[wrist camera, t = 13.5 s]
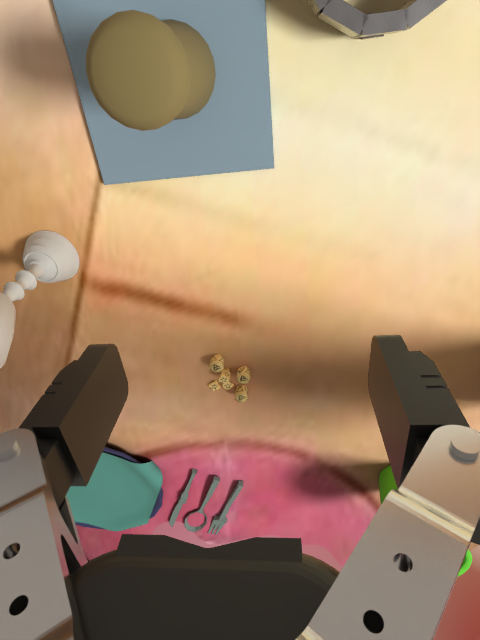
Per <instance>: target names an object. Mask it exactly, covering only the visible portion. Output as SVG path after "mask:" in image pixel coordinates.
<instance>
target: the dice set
mask: <svg viewBox="0 0 480 640" xmlns="http://www.w3.org/2000/svg"><path fill="white" fill-rule="evenodd" d="M223 367H224V357H223V356H221V355H220V354H216V355H213V356H212V357H211V360H210V370H212V371H213V372H220V374H219V378H218V381H219V382H221V383H222V386H223V387H224V388H225V389H227V390H229V389H230V388H232V387H233V386H234V384H233V383H232V382H231V381H230V380H229V379H230V374H231V373H230V372H229V369H224V368H223ZM249 381H250V368H248V367H246V366H240V367H239V368H238V369H237V382H239V383H241V384H247V383H248V382H249ZM209 387H210V388H211V389H212V390H213V391H215V390H217V389H219V388H220V387H221V386H220V384H219V383H218V382H217V381H216V380H215V381H213V382H211V383H209ZM247 394H248V388H247V387H246V386H245V385H238V386H237V387H236V389H235V400H236V401H238V402H245V401H246V400H247Z"/></svg>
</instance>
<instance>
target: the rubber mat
mask: <svg viewBox="0 0 480 640" xmlns="http://www.w3.org/2000/svg"><path fill="white" fill-rule="evenodd" d="M53 4H54V8H55V11H56V15H57V18H58V22H59V25H60V29H61V32H62V36H63V40H64V43H65V47H66V50H67V54H68V57H69V61H70V64H71V68H72V71H73V75H74V79H75V82H76V86H77V89H78V93H79V96H80V100H81V103H82V107H83V111H84V114H85V118H86V121H87V125H88V128H89V132H90V135H91V139H92V143H93V146H94V150H95V153H96V157H97V160H98V164H99V167H100V171H101V174H102V178H103V182H104V185H108V184H119V183H129V182H139V181H149V180H159V179H169V178H179V177H189V176H200V175H210V174H220V173H230V172H240V171H250V170H260V169H270V168H274V156H273V137H272V119H271V101H270V82H269V64H268V46H267V27H266V9H265V0H53ZM128 10H137V11H140V12H144V13H148V14H151V15H153V16H155V17H156V18H157V19H159V20H160V21H162V20H169V19H173V20H177V21H181V22H184V23H187V24H188V25H190V26H191V27H192V28H194V29H195V30H197V31H198V32H199V33H200V34H201V36H202V37H203V38H204V40H205V41H206V42H207V44H208V46H209V48H210V51H211V53H212V56H213V58H214V64H215V73H216V77H215V83H214V90H213V92H212V94H211V97H210V99H209V101H208V103H207V104H206V105H205V106H204V107H203V108H202V109H201V110H200V112H199V113H197V114H195V115H193V116H191V117H189V118H186V119H177V120H173V121H172V122H170V123H168V124H166V125H164V126H162V127H160V128H158V129H155V130H146V131H141V130H137V129H132V128H128V127H126V126H124V125H122V124H121V123H119V122H117V121H116V120H114V119H112V118H111V117H110V116H109V115H108V114H107V113H106V112H105V111H104V110H103V108H102V107H101V106H100V105H99V104H98V102H97V100H96V98H95V96H94V94H93V93H92V91H91V89H90V85H89V81H88V77H87V74H86V51H87V48H88V45H89V41H90V38H91V35H92V34H93V33H94V31H95V30H96V29H97V27H98V26H99V24H100V23H101V22H102V21H103V20H105V19H107V18H108V17H110V16H111V15H113V14H115V13H116V12H121V11H128Z"/></svg>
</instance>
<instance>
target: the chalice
mask: <svg viewBox="0 0 480 640" xmlns="http://www.w3.org/2000/svg"><path fill="white" fill-rule="evenodd" d="M23 264H24V267H25V269H26V271H25V270H21V271H18V272H17V273H16V276H15V277H16V281H15V282H7V283H6V284H5V285H4V291H3V293H1V292H0V369H1V367H2V366H3V365H4V364H5V362H6V359H7V356H8V352H9V349H10V346H11V343H12V339H13V336H14V327H15V317H16V310H15V306H14V304H13V301H15V300H21V299H22V298H23V297H24V290H25V289H26V290H32V289H34V288H35V287H36V285H37V281H36V279H37V280H39V281H41V282H45V283H54V282H59V281H65V280H68V279H70V278H72V277H73V276H74V275H75V274H76V273H77V271H78V268H79V257H78V253H77V251H76V249H75V248H74V246H73V245H72V243H71V242H69V241H68V240H67V239H66V238H65V237H64V236H62V235H60V234H58V233H56V232H52V231H48V230H46V231H38V232H35V233H33V234H31V235H30V237H29V238H28V239H27V241H26V244H25V249H24V254H23Z"/></svg>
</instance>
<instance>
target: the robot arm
mask: <svg viewBox="0 0 480 640" xmlns="http://www.w3.org/2000/svg"><path fill="white" fill-rule="evenodd" d="M368 386H369V394H370V398H371V401H372V405H373V408H374V411H375V415H376V418H377V421H378V425H379V428H380V432H381V435H382V438H383V442H384V445H385V448H386V452H387V455H388V458H389V462H390V465H391V468H392V472H393V475H394V479H395V482H396V485H397V489H398V490H396V489H392V490H391V491H390V492H389V494H388V495H387V497H386V498H385V500H384V501H383V503H382V505H381V506H380V508H379V510H378V511H377V513H376V514H375V516H374V518H373V519H372V521H371V523H370V524H369V526H368V528H367V529H366V531H365V532H364V534H363V536H362V537H361V539H360V541H359V542H358V544H357V546H356V547H355V549H354V551H353V552H352V554H351V555H350V557H349V559H348V560H347V562H346V564H345V565H344V567H343V569H342V570H341V572H339V571H337V570H336V569H335V568H333V567H332V566H330V565H328V564H327V563H325V562H323V561H321V560H319V559H317V558H314V557H312V556H309V555H306V554H303V553H302V547H301V546H302V545H301V538H261V537H255V538H251V539H247V540H242V541H238V542H234V543H230V544H226V545H222V546H218V547H214V548H203V547H200V546H197V545H194V544H190V543H187V542H184V541H181V540H178V539H175V538H172V537H168V536H165V535H133V534H122V536H121V539H120V542H119V545H118V548H117V550H114V551H111V552H108V553H105V554H103V555H101V556H99V557H96V558H94V559H92V560H91V561H89V562H87V560H86V557H85V555H84V552H83V548H82V545H81V541H80V538H79V535H78V531H77V528H76V524H75V521H74V518H73V514H72V511H71V507H70V504H69V501H68V499H67V497H66V494H67V492H68V490H69V488H70V486H87V484H88V482H89V480H90V478H91V476H92V474H93V471H94V469H95V467H96V465H97V463H98V461H99V458H100V456H101V454H102V452H103V450H104V448H105V445H106V443H107V441H108V439H109V437H110V435H111V432H112V430H113V428H114V426H115V424H116V422H117V419H118V417H119V415H120V413H121V411H122V409H123V406H124V404H125V402H126V400H127V396H128V381H127V378H126V374H125V371H124V368H123V365H122V361H121V358H120V355H119V352H118V349H117V347H116V346H115V345H114V344H94V345H89V346H88V347H87V348H86V350H85V351H84V352H83V354H82V355H81V357H80V358H79V360H74V361H73V362H71V363H70V364H69V365H68V366H66V367H65V368H64V369H62V370H61V371H60V372H59V374H58V375H57V376H56V378H55V379H54V380H53V382H52V385H50V386H49V387H48V389H47V390H46V391H45V395H42V397H41V398H40V400H39V401H38V402H37V404H36V405H35V406H34V408H33V409H32V410H31V412H30V413H29V415H28V416H27V417H26V419H25V420H24V421H23V423H22V424H21V425H20V427H19V428H18V429H13V430H9V431H6V432H3V433H1V434H0V640H433V638H434V635H435V633H436V630H437V628H438V625H439V622H440V620H441V617H442V615H443V612H444V609H445V607H446V604H447V601H448V599H449V596H450V594H451V591H452V589H453V586H454V584H455V581H456V578H457V576H458V573H459V571H460V568H461V566H462V563H463V561H464V558H465V555H466V553H467V550H468V548H469V545H470V543H471V542H473V543H476V544H479V545H480V432H479V431H476V430H474V429H472V428H470V426H469V425H468V423H467V421H466V419H465V417H464V416H463V414H462V412H461V410H460V408H459V407H458V405H457V403H456V401H455V399H454V398H453V396H452V394H451V392H450V390H449V389H448V388H447V385H446V383H445V381H444V380H443V378H442V377H441V374H440V373H439V371H438V369H437V367H436V365H435V364H434V362H433V361H432V360H430V359H429V358H428V357H427V356H425V355H424V354H423V353H422V352H420V351H412V352H409V351H408V349H407V347H406V345H405V343H404V341H403V339H402V337H401V336H400V335H383V336H373V338H372V344H371V354H370V364H369V374H368Z"/></svg>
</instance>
